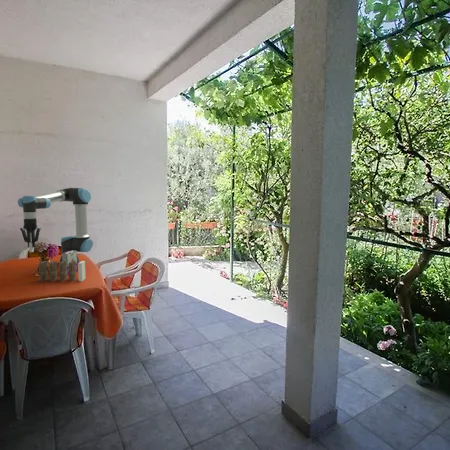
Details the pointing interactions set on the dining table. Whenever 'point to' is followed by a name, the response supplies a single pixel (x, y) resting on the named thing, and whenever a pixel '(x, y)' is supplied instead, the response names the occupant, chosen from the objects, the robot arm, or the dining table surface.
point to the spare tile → (81, 270)
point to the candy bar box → (69, 259)
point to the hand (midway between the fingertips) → (31, 251)
